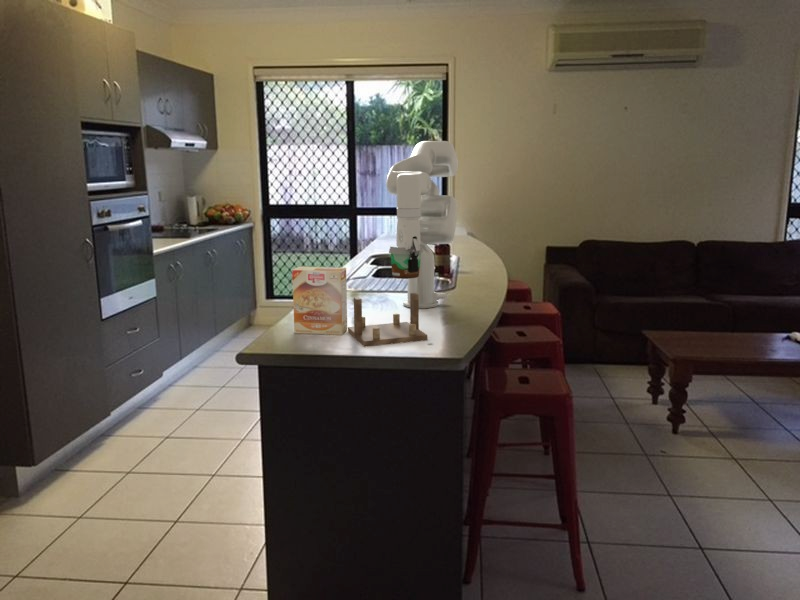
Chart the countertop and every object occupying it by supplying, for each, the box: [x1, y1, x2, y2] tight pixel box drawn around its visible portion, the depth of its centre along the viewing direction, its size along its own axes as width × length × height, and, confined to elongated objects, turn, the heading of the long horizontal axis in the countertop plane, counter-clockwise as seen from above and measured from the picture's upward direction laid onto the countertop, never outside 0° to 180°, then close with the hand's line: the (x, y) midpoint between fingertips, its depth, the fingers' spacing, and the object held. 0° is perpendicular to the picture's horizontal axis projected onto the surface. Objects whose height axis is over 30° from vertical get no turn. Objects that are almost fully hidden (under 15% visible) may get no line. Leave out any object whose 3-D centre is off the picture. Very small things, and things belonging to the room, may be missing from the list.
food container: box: [388, 244, 423, 280], centre depth 211 cm, size 12×6×10 cm, turn 128°
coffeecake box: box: [291, 266, 348, 336], centre depth 199 cm, size 15×7×20 cm, turn 81°
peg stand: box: [347, 293, 428, 347], centre depth 195 cm, size 19×17×12 cm
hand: (409, 269), depth 212 cm, fingers closed on food container, 5 cm apart
